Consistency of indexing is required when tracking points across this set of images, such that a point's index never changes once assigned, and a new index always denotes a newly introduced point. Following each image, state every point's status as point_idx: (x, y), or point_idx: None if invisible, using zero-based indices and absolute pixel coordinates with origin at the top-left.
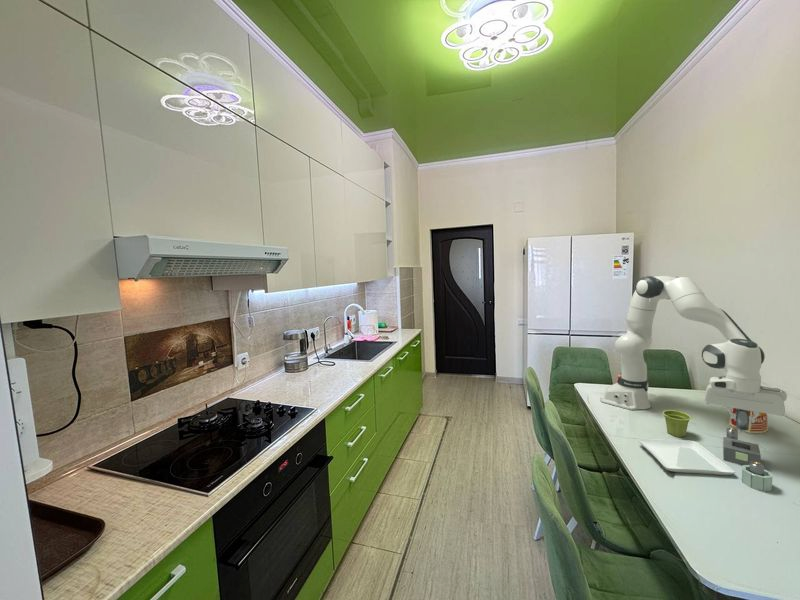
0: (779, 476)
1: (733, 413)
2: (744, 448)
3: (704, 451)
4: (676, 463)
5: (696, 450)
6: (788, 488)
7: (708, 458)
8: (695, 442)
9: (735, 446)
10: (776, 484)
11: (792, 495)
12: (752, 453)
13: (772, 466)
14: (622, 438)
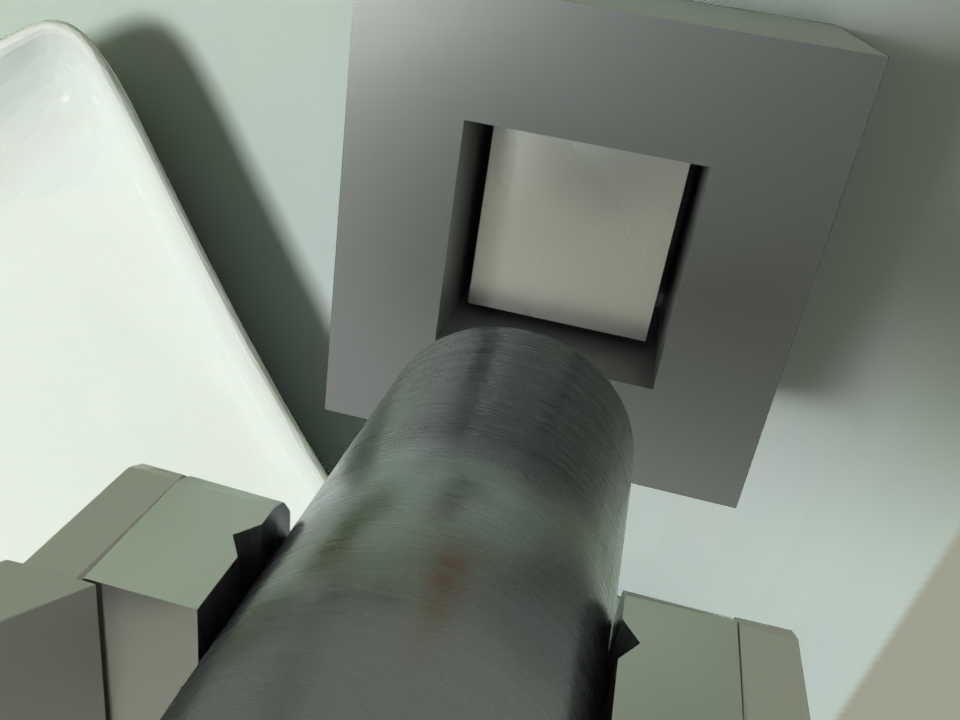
0: (896, 413)
1: (113, 623)
2: (638, 158)
3: (198, 272)
4: (28, 550)
5: (139, 194)
6: (859, 618)
7: (248, 381)
8: (84, 53)
9: (524, 139)
10: (779, 583)
11: (831, 713)
12: (645, 482)
13: (947, 168)
14: None
